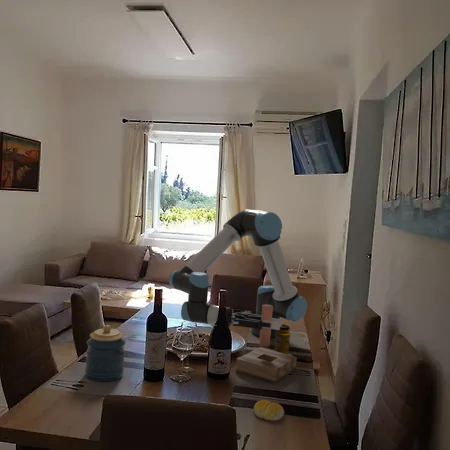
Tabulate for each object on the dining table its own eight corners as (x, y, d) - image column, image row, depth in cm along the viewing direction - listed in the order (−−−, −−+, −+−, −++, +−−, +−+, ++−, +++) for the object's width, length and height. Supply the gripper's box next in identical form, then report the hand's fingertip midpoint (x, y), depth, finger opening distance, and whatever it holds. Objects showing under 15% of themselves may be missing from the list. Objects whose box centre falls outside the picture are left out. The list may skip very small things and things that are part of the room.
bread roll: (260, 405, 149) (261, 393, 149) (286, 414, 144) (287, 401, 144) (247, 415, 142) (249, 402, 142) (274, 424, 137) (275, 411, 137)
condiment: (292, 355, 198) (295, 327, 197) (277, 358, 193) (279, 329, 192) (281, 349, 204) (283, 322, 203) (266, 352, 199) (268, 324, 198)
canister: (89, 384, 155) (92, 332, 153) (81, 370, 166) (84, 321, 165) (128, 380, 161) (131, 329, 159) (118, 366, 172) (121, 318, 171)
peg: (262, 342, 181) (265, 303, 180) (271, 344, 179) (274, 306, 178) (257, 344, 178) (260, 305, 177) (266, 347, 176) (269, 307, 175)
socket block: (259, 359, 190) (260, 347, 190) (295, 369, 181) (296, 357, 181) (235, 371, 175) (236, 358, 175) (274, 383, 166) (275, 370, 166)
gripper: (225, 320, 191) (282, 328, 185) (214, 331, 174) (276, 340, 169) (226, 302, 190) (284, 309, 185) (215, 311, 174) (278, 320, 168)
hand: (280, 324), depth 177 cm, fingers closed on peg, 4 cm apart
